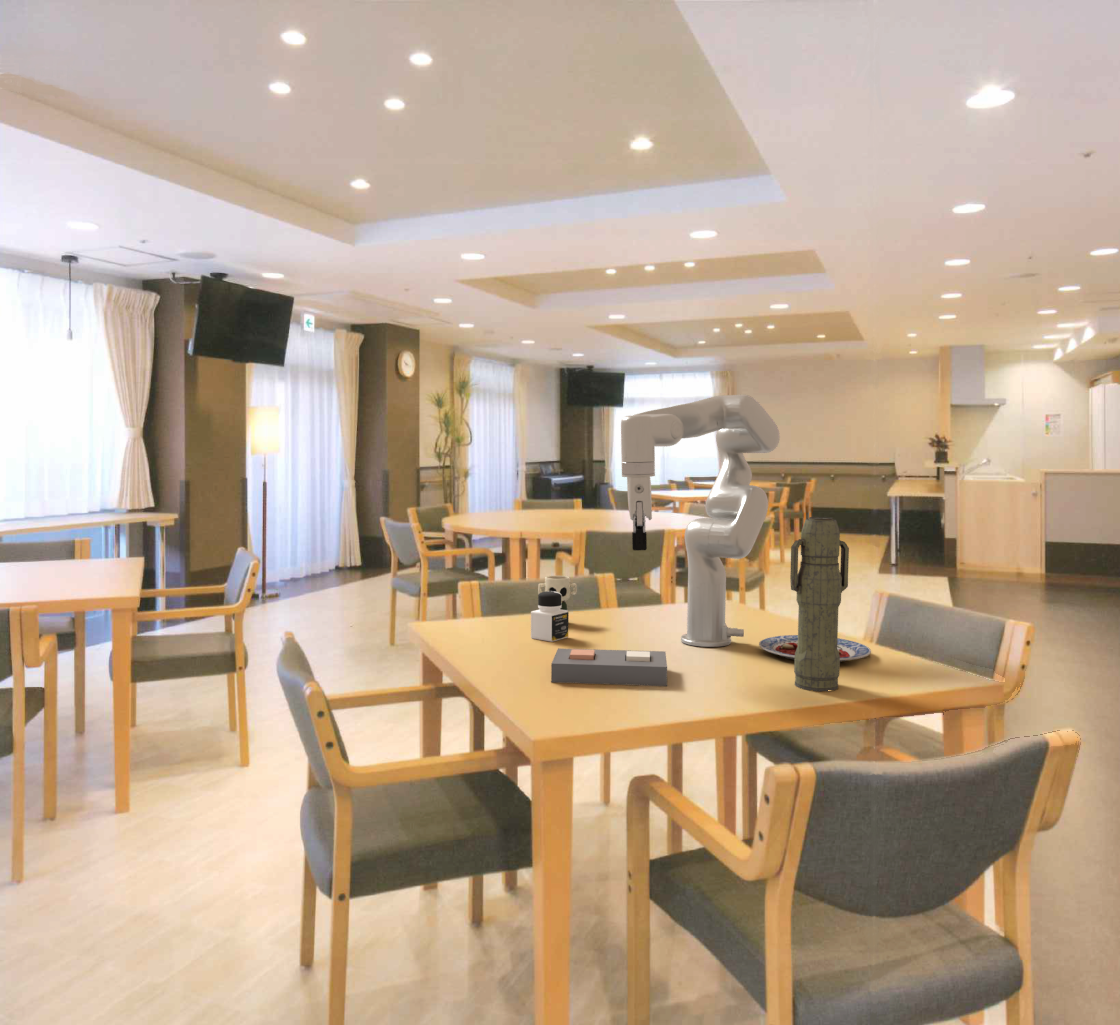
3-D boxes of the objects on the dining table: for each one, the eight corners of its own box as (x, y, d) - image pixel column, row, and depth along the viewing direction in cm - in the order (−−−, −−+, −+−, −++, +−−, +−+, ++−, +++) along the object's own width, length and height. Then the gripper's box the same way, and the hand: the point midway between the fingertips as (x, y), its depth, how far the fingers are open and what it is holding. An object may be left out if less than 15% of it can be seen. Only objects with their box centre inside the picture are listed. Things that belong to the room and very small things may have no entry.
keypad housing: (665, 669, 192) (665, 651, 192) (666, 685, 178) (667, 666, 178) (557, 665, 194) (557, 648, 194) (551, 682, 180) (551, 663, 180)
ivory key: (649, 665, 188) (649, 651, 188) (649, 670, 183) (649, 656, 183) (626, 664, 188) (626, 650, 188) (626, 670, 183) (626, 656, 183)
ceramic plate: (806, 673, 191) (806, 659, 190) (737, 648, 214) (737, 636, 214) (895, 662, 201) (895, 649, 201) (820, 640, 225) (820, 628, 224)
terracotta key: (594, 663, 189) (594, 649, 189) (593, 669, 184) (593, 655, 184) (571, 662, 189) (571, 649, 189) (569, 668, 184) (569, 654, 184)
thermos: (854, 689, 176) (859, 519, 174) (802, 693, 173) (806, 519, 171) (830, 678, 185) (834, 515, 183) (780, 681, 182) (784, 516, 180)
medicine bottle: (552, 642, 219) (552, 595, 218) (530, 638, 223) (530, 592, 222) (568, 637, 224) (569, 591, 224) (547, 633, 229) (547, 589, 228)
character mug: (538, 625, 240) (538, 579, 239) (537, 620, 247) (537, 575, 246) (577, 625, 240) (577, 579, 239) (575, 620, 247) (575, 575, 246)
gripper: (656, 471, 189) (657, 554, 190) (653, 467, 203) (654, 544, 205) (622, 472, 189) (623, 555, 191) (621, 468, 204) (622, 545, 206)
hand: (639, 549), depth 198 cm, fingers closed
